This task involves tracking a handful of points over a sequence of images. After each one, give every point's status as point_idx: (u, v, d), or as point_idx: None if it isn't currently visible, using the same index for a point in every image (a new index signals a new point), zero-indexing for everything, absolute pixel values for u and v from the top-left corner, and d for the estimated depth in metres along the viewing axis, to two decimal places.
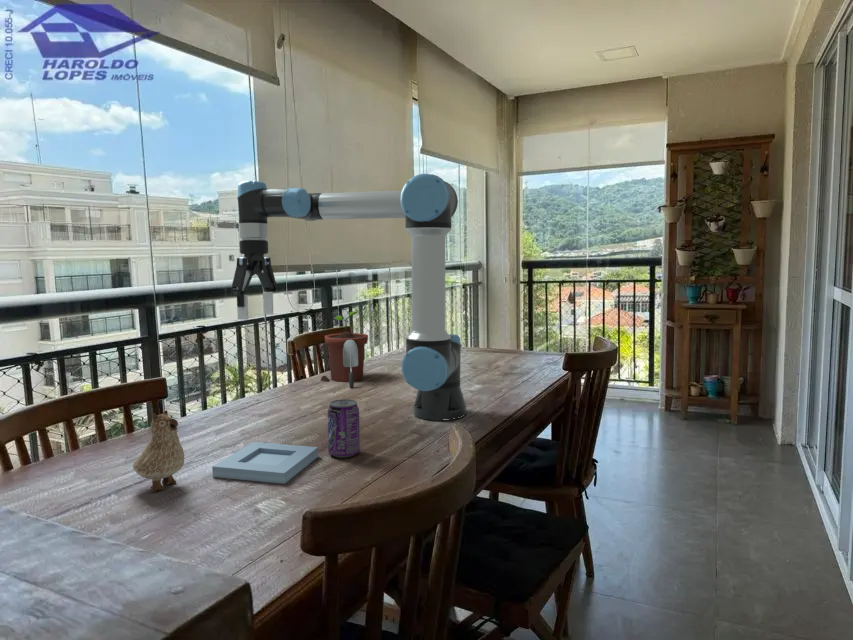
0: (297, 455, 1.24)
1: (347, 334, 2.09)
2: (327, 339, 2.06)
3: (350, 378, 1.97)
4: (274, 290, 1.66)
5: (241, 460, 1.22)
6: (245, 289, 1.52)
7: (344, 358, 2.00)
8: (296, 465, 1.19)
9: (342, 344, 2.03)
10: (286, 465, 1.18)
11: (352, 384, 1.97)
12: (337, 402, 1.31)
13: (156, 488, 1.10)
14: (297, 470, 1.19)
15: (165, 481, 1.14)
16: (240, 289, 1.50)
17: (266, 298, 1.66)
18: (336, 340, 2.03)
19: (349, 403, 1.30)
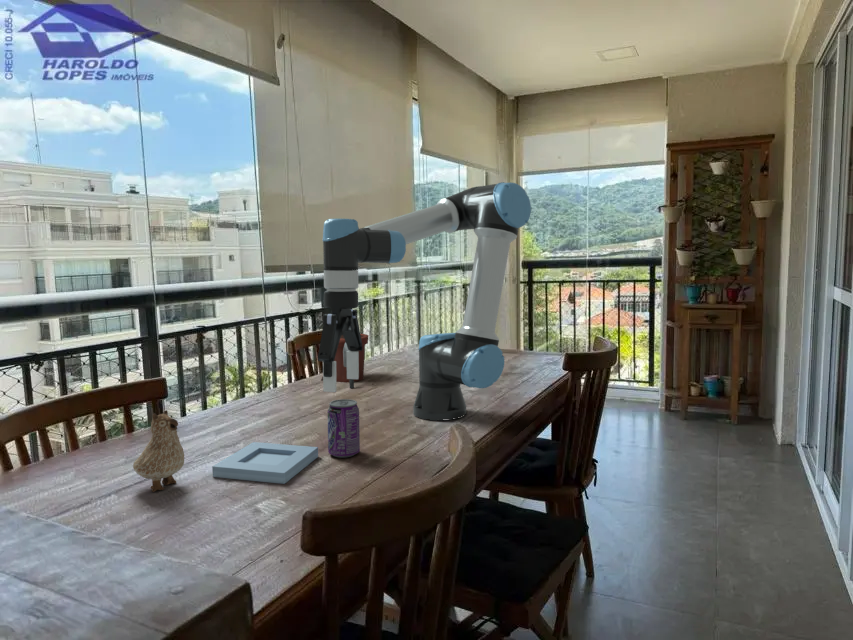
0: (297, 455, 1.24)
1: None
2: None
3: None
4: (360, 349, 1.36)
5: (241, 460, 1.22)
6: (334, 354, 1.21)
7: (344, 358, 2.00)
8: (296, 465, 1.19)
9: (342, 344, 2.03)
10: (286, 465, 1.18)
11: (352, 384, 1.96)
12: (337, 402, 1.31)
13: (156, 488, 1.10)
14: (297, 470, 1.19)
15: (165, 481, 1.14)
16: (329, 356, 1.19)
17: (350, 359, 1.35)
18: None
19: (349, 403, 1.30)
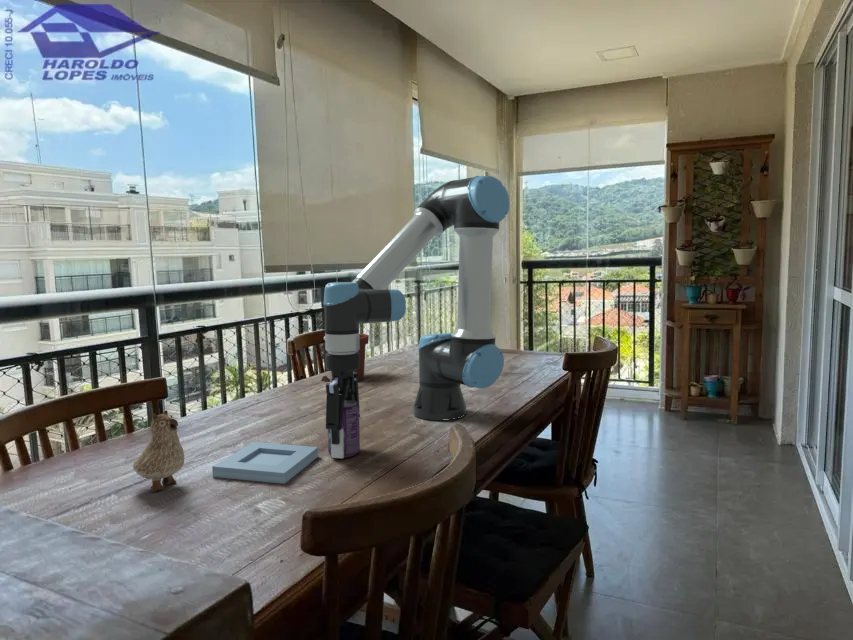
0: (297, 455, 1.24)
1: None
2: None
3: None
4: None
5: (241, 460, 1.22)
6: (341, 422, 1.26)
7: None
8: (296, 465, 1.19)
9: None
10: (286, 465, 1.18)
11: None
12: None
13: (156, 488, 1.10)
14: (297, 470, 1.19)
15: (165, 481, 1.14)
16: (337, 425, 1.23)
17: None
18: None
19: (349, 403, 1.30)
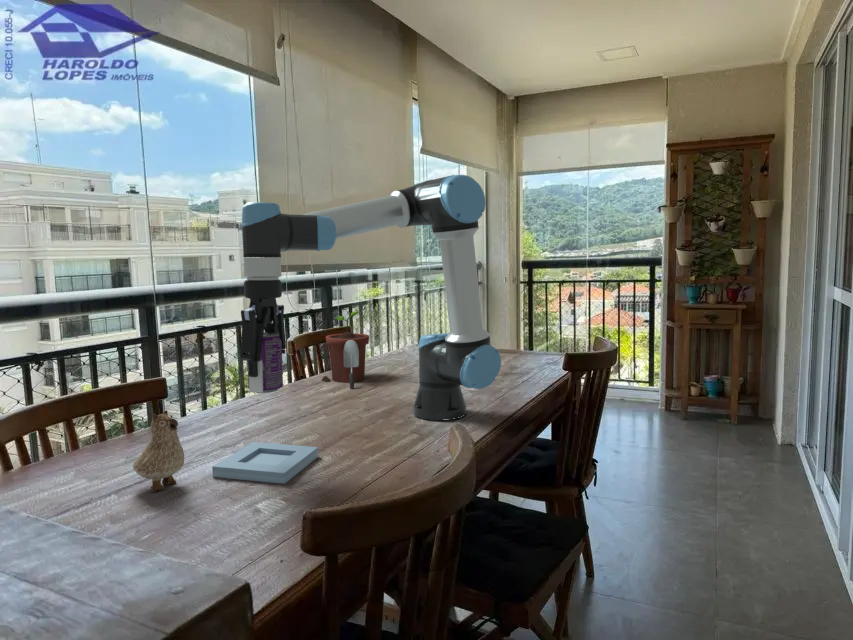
0: (297, 455, 1.24)
1: (348, 334, 2.08)
2: (328, 339, 2.05)
3: (350, 378, 1.96)
4: (282, 352, 1.25)
5: (241, 460, 1.22)
6: (258, 353, 1.16)
7: (344, 358, 1.99)
8: (296, 465, 1.19)
9: (343, 344, 2.02)
10: (286, 465, 1.18)
11: (352, 385, 1.96)
12: None
13: (156, 488, 1.10)
14: (297, 470, 1.19)
15: (165, 481, 1.14)
16: (253, 355, 1.14)
17: None
18: (337, 340, 2.03)
19: None
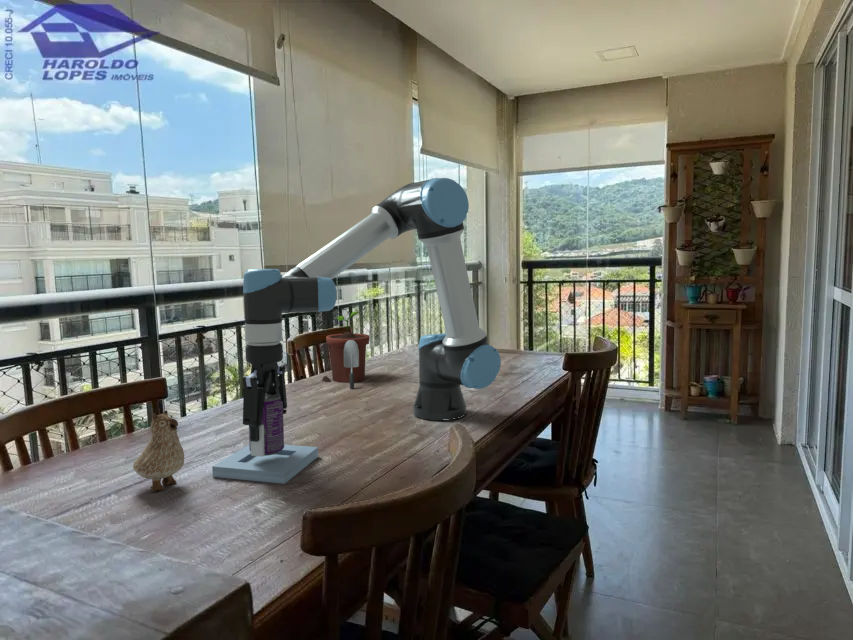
0: (297, 455, 1.24)
1: (348, 334, 2.08)
2: (328, 339, 2.05)
3: (350, 378, 1.96)
4: (283, 412, 1.26)
5: (241, 460, 1.22)
6: (260, 418, 1.18)
7: (344, 358, 1.99)
8: (296, 465, 1.19)
9: (343, 344, 2.02)
10: (286, 465, 1.18)
11: (352, 385, 1.96)
12: None
13: (156, 488, 1.10)
14: (297, 470, 1.19)
15: (165, 481, 1.14)
16: (254, 421, 1.15)
17: None
18: (337, 340, 2.02)
19: (272, 397, 1.22)
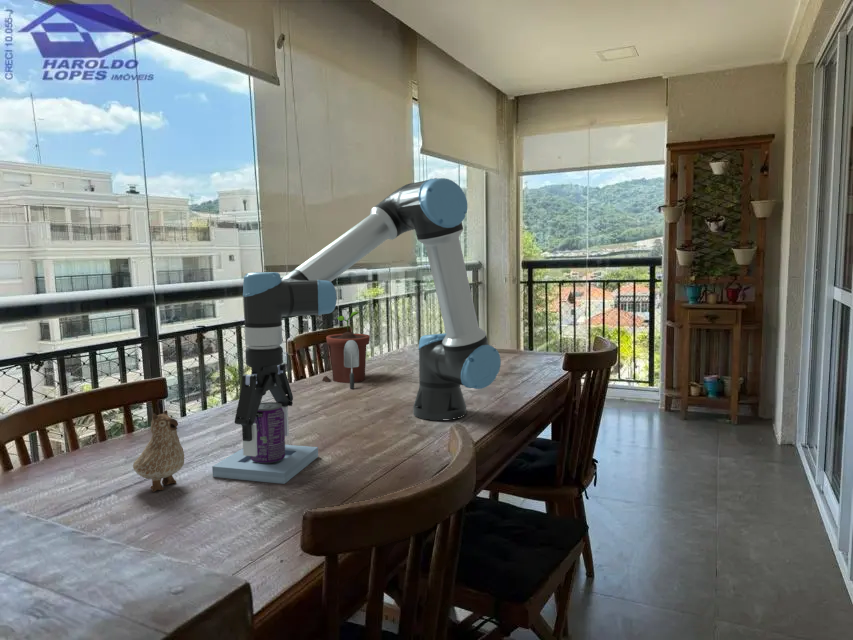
0: (297, 455, 1.24)
1: (349, 334, 2.07)
2: (328, 339, 2.05)
3: (350, 378, 1.96)
4: (290, 404, 1.29)
5: (241, 460, 1.22)
6: (253, 417, 1.15)
7: (344, 358, 1.99)
8: (296, 465, 1.19)
9: (343, 344, 2.02)
10: (286, 465, 1.18)
11: (352, 385, 1.95)
12: (261, 405, 1.23)
13: (156, 488, 1.10)
14: (297, 470, 1.19)
15: (165, 481, 1.14)
16: (247, 420, 1.13)
17: None
18: (337, 340, 2.02)
19: (273, 406, 1.23)
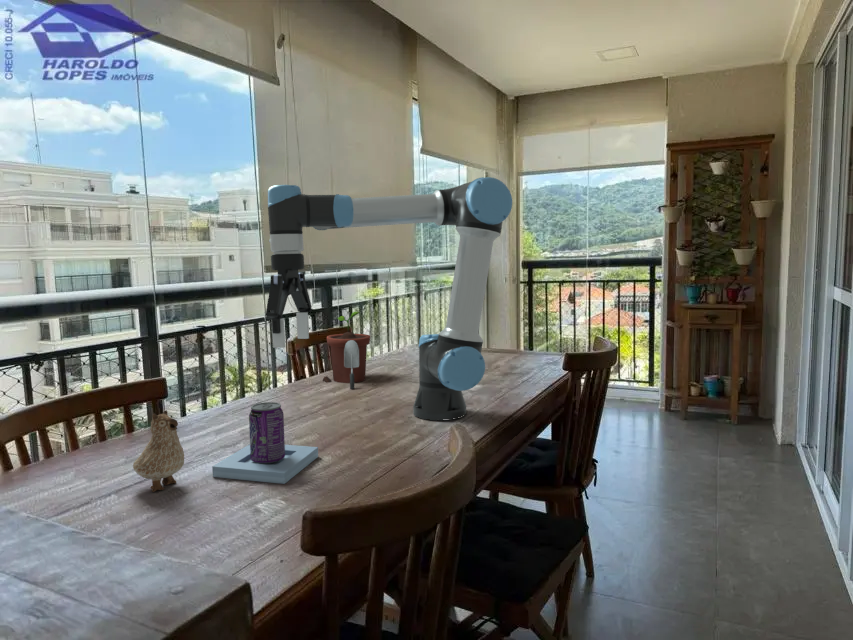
0: (297, 455, 1.24)
1: (349, 335, 2.07)
2: (329, 339, 2.05)
3: (350, 379, 1.96)
4: (309, 310, 1.44)
5: (241, 460, 1.22)
6: (281, 312, 1.29)
7: (345, 358, 1.99)
8: (296, 465, 1.19)
9: (343, 345, 2.02)
10: (286, 465, 1.18)
11: (353, 385, 1.95)
12: (260, 405, 1.23)
13: (156, 488, 1.10)
14: (297, 470, 1.19)
15: (165, 481, 1.14)
16: (277, 313, 1.27)
17: (300, 320, 1.43)
18: (337, 341, 2.02)
19: (272, 406, 1.23)
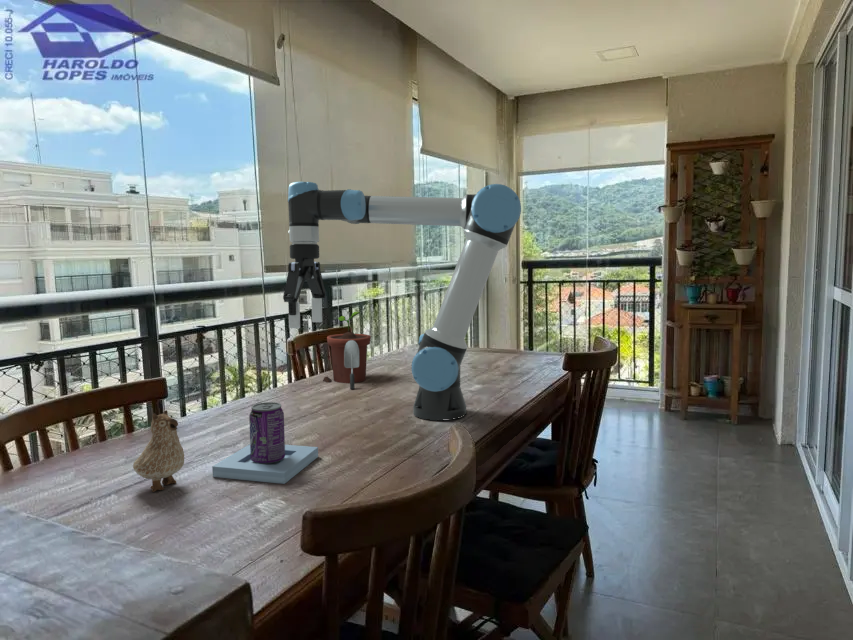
0: (297, 455, 1.24)
1: (349, 335, 2.07)
2: (329, 340, 2.05)
3: (350, 379, 1.95)
4: (323, 296, 1.58)
5: (241, 460, 1.22)
6: (297, 296, 1.44)
7: (345, 358, 1.98)
8: (296, 465, 1.19)
9: (344, 345, 2.02)
10: (286, 465, 1.18)
11: (353, 385, 1.95)
12: (261, 405, 1.23)
13: (156, 488, 1.10)
14: (297, 470, 1.19)
15: (165, 481, 1.14)
16: (293, 296, 1.41)
17: (315, 305, 1.58)
18: (338, 341, 2.02)
19: (273, 406, 1.22)
